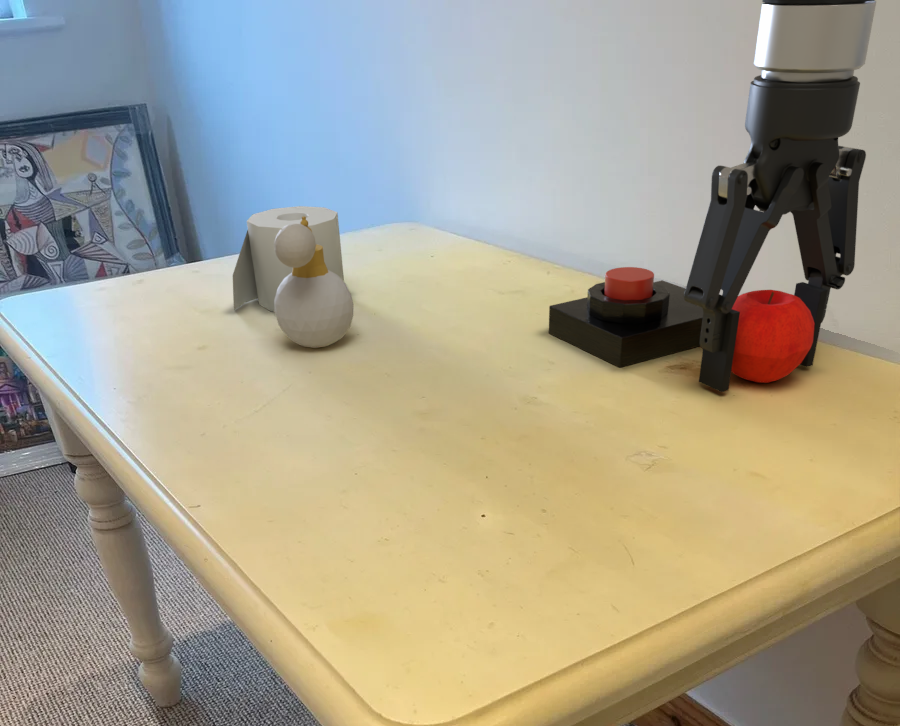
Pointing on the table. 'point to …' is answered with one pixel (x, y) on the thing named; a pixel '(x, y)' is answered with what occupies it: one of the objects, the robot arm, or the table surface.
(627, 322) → the button base
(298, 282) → the perfume bottle
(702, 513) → the table surface
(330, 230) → the toilet tissue
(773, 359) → the apple
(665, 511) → the table surface
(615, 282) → the button
